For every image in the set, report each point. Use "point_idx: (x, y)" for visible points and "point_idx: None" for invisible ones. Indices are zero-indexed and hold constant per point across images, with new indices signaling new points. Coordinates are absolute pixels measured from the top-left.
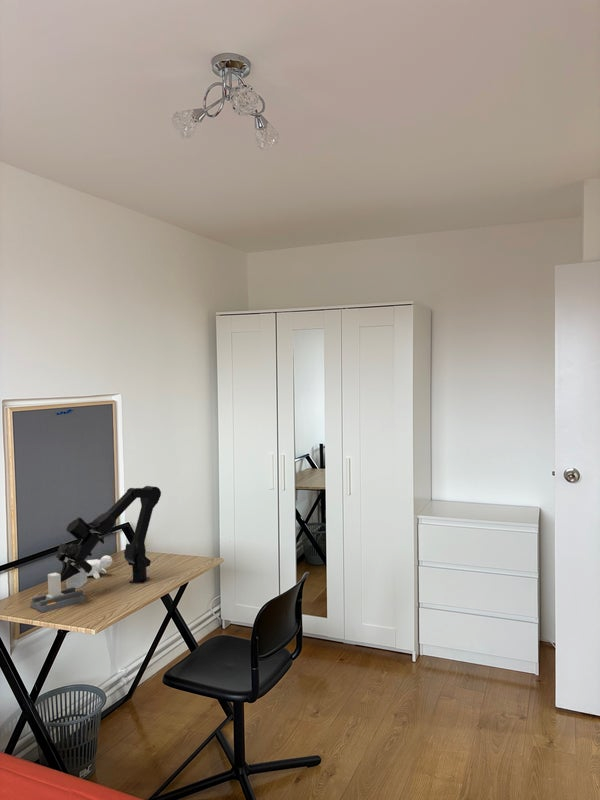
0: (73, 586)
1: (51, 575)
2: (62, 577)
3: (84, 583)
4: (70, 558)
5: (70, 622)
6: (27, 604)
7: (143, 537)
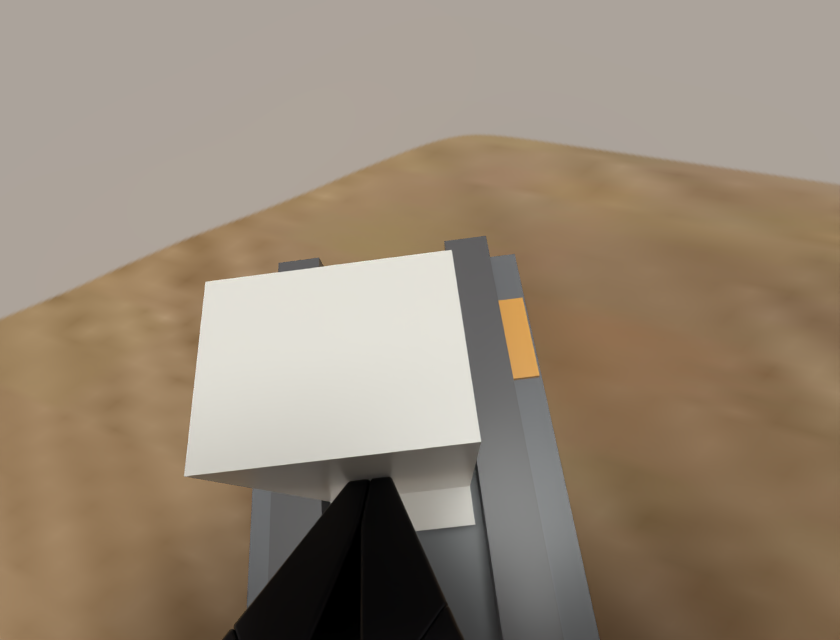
0: None
1: (289, 283)
2: (298, 560)
3: None
4: None
5: None
6: (598, 276)
7: None
